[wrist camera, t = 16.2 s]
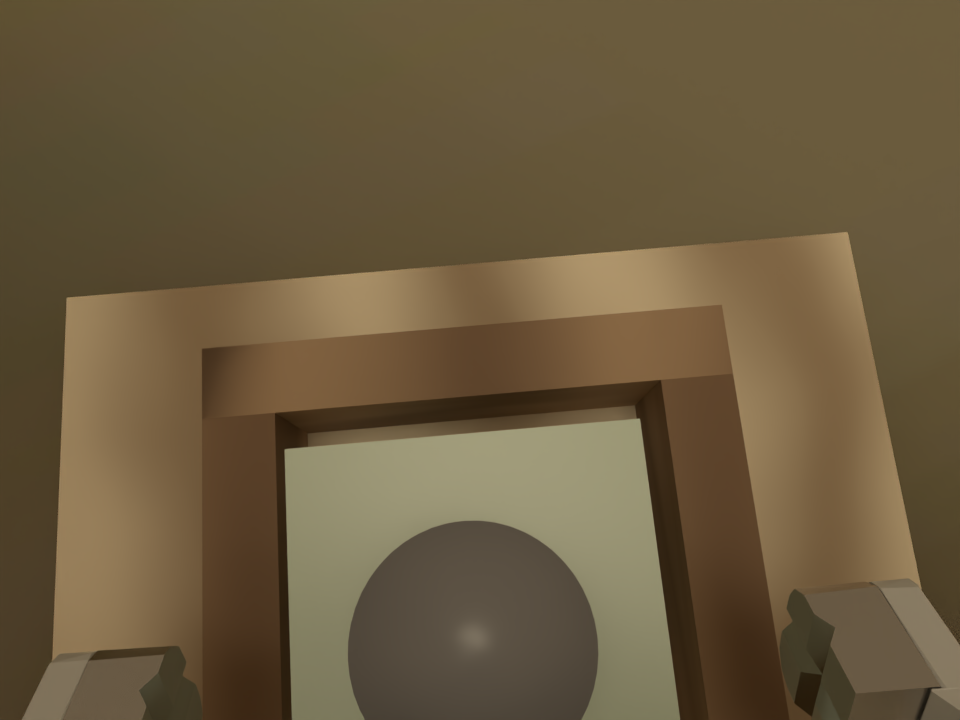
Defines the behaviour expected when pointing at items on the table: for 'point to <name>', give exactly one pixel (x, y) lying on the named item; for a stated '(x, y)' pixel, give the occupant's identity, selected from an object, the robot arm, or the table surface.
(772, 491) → the u rest
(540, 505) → the sage bottle
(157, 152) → the table surface
